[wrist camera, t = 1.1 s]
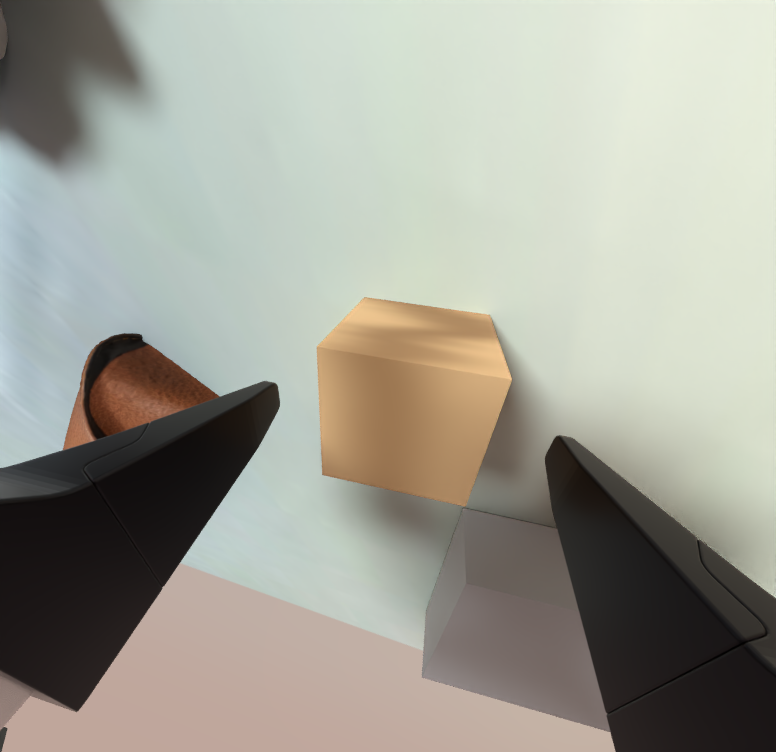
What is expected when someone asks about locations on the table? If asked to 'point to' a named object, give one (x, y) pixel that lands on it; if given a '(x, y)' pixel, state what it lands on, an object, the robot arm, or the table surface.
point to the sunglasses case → (129, 389)
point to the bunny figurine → (3, 34)
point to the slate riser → (511, 621)
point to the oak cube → (410, 397)
